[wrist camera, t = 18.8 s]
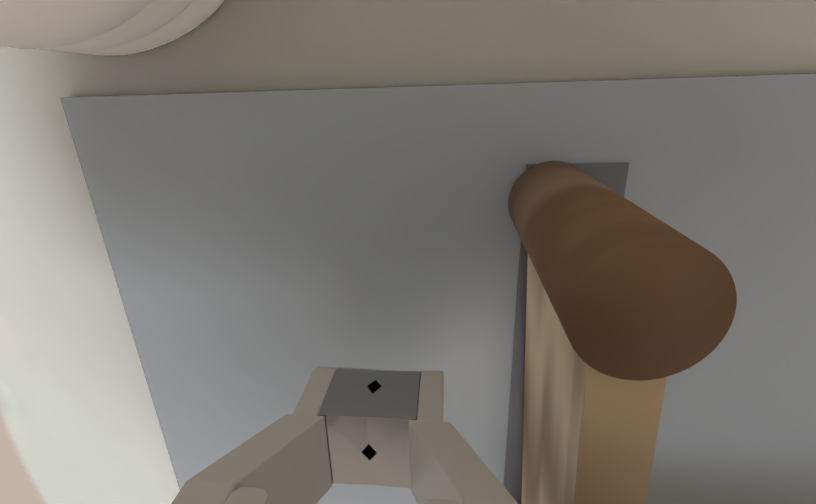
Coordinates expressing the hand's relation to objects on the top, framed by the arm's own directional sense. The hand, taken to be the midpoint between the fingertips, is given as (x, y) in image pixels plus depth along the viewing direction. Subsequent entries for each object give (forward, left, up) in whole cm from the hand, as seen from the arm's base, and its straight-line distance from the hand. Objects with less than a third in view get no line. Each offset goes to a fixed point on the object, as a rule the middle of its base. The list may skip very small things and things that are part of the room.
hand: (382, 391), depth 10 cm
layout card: (-5, -5, -4) cm, 8 cm away
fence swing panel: (-2, -5, -3) cm, 6 cm away
